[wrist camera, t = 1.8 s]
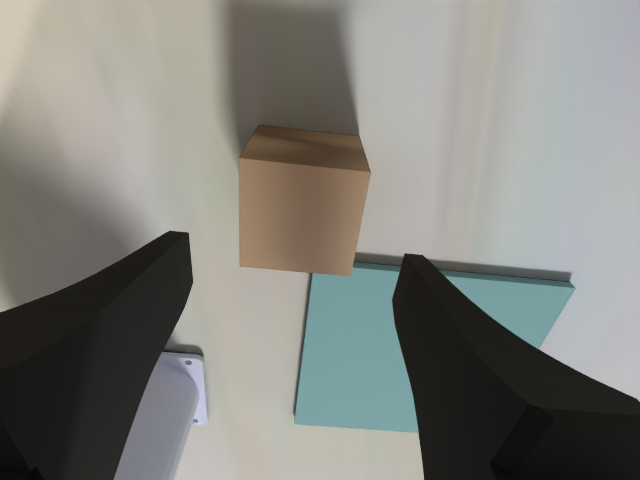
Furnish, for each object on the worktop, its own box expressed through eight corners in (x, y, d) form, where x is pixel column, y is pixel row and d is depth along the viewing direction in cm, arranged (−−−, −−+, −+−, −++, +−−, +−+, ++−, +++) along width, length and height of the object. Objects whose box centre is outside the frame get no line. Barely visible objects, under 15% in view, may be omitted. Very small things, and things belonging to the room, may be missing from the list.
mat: (294, 417, 30) (294, 424, 30) (314, 258, 22) (314, 264, 21) (482, 430, 31) (485, 437, 31) (569, 282, 23) (575, 288, 22)
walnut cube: (256, 214, 21) (239, 266, 16) (258, 124, 18) (238, 158, 14) (344, 223, 21) (350, 276, 17) (359, 135, 18) (370, 172, 14)
